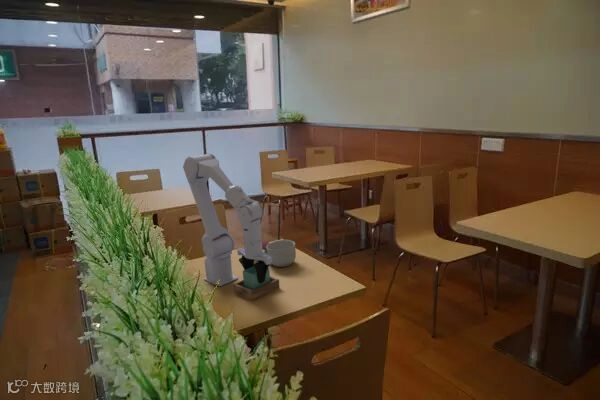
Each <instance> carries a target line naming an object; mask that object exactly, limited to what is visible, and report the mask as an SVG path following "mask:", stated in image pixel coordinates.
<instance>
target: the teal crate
mask: <svg viewBox="0 0 600 400" xmlns="http://www.w3.org/2000/svg"><path fill="white" fill-rule="evenodd" d="M270 273H271V272H270V266H269V267H268V269H267V272H266V277H265V281H264V282H262V283H259V282H258V277H257V272H256V269H255V267H254V266H253V267H251V268H248V269H246V270H244V269H243V270H242V280H244V287H246V288H248V289H251V290H255V289H257V288H259V287H262V286H264V285H266V284H268V283H270V276H271V275H270Z"/></svg>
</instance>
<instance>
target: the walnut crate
mask: <svg viewBox="0 0 600 400" xmlns="http://www.w3.org/2000/svg"><path fill="white" fill-rule="evenodd" d="M232 285H233V293H235V294H237V295H239V296H241V297H243V298H245V299H248V300H250V301H251V302H252V301H253V302H255V301H256V300H258V299H260V298H262V297H264V296H266V295H268V294H270V293H271V292H274V291H276V290H278V289H280V279H279V278H277V277H273V276H271V275H270V283H268V284H266V285H264V286H262V287H259V288H257V289H255V290H251V289H248V288H246V287H244V280H243V279H242V280H239V281H238V282H235V283H233V284H232Z"/></svg>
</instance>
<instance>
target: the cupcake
mask: <svg viewBox="0 0 600 400" xmlns="http://www.w3.org/2000/svg"><path fill="white" fill-rule="evenodd" d="M269 243H270V242H269V241H267V240H262V248H263V250H265V252H264V253H265V254H267V255H268V253H267V248H266V246H267V245H268V244H269Z"/></svg>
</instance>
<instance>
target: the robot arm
mask: <svg viewBox="0 0 600 400" xmlns="http://www.w3.org/2000/svg"><path fill="white" fill-rule="evenodd" d="M182 168H183V171H184V174H185V177H186V180H187V183H189V184H188V185H189V188H190V190H191V193H192V196H193V198H194V203H195V205H196V207H197V210H198V212H199V216H200V218H201V222H202V224H203V228H204V230H205V233H204V234H203V236H202V238H201V243H202V250H203V254H204V256H205V259H204V267H205V271H204V272H205V277H204V278H203V279H204V280H205V281H207V282H209V283H211V284H213V285H216V283H217V281H218V280H219V279H220V281H219V284H218V285H216V286H218V287H222V286H225V285H226V284H229V283H231V282H234V281H236V280H238V279H239V277H238V276H236V275H233V269H232V254H233V250H234V249H235V245H236V244H235V240H234V238H233V237H232V235H231V234H230V232H229V229H227V228H225V227H223V226H222V225H221V223H220V220H219V216H218V214H217V212H216V209H215V205H214V202H213V199H212V197H211V194H210V191H209V189H208V185H207V182H208V181H209V179H211V180H212V181H213V182H214V183H215V184H216V185H217V186H218V187H219V188H220V189H221V190H222V191H223V192H225V193H224V197H225V199H226V201H228V203H229V204H230V205H231V206H232V207H233V208H234V209H235V211H236V212H237V214H236V216H237V218H238V220H239V222H240V226H241V228H242V235H243V237H242V238H243V246H244V247H240V248H238V249H237V251H236V252H237V256H241V257H240V258H239V259H238V262H239V263H240V265H241V266H242V268H243V271H244V270H246V269H248V268H251V267H253V266H254V267H255V269H256V272H257V277H258V282H259V283H262V282H264V281H265V277H266V272H267V269H268V267H269V268H270V265H272V264H271V263H272V257H270V256H268V255H267V254H265V253H264V252H265V250H263V248H262V241H263V239H262V238H263V236H262V235H263V234H262V225H261V222H262V221H261V218H263V217H264V207H263V205H262V204H261V202H260V201H257V200H254V199H251V198H250V196H249V195H247V193H246V192H245V191H244V190H243V188H242V187H241V186H240V185H234V184H233V183H232V181H231V180H230V178H229V177H228V176H227V175H226V174H225V172H224V171H223V169H222V168H221V167H220V161H219V159H217V158H216V156H215V155H214V154H213V153H210V152H209V153H205V154H201V155H195V156H188V157H186V158H185V159H184V163H183V166H182ZM255 261H257V262H255Z"/></svg>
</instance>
